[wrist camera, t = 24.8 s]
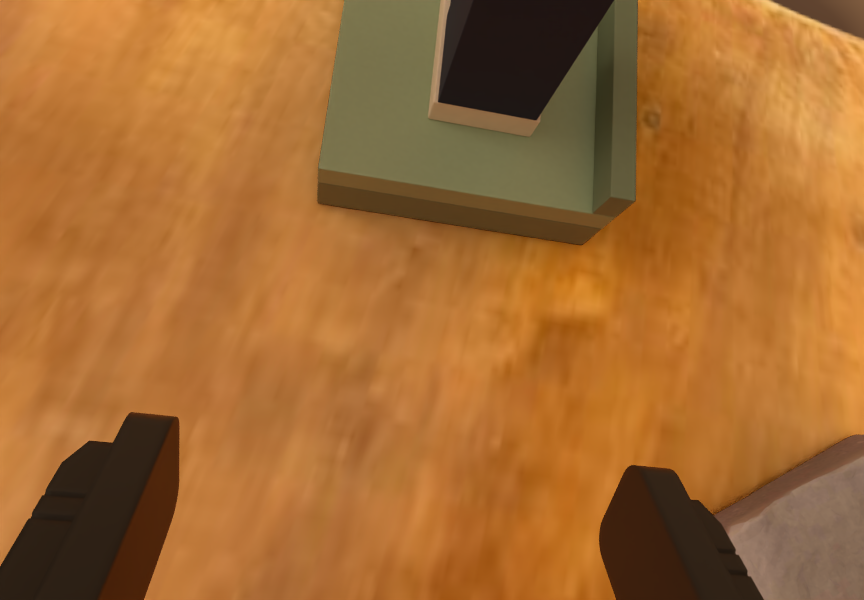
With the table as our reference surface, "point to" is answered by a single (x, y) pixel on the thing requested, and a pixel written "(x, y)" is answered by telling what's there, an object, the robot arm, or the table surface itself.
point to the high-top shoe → (506, 59)
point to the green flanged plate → (478, 133)
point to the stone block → (806, 528)
